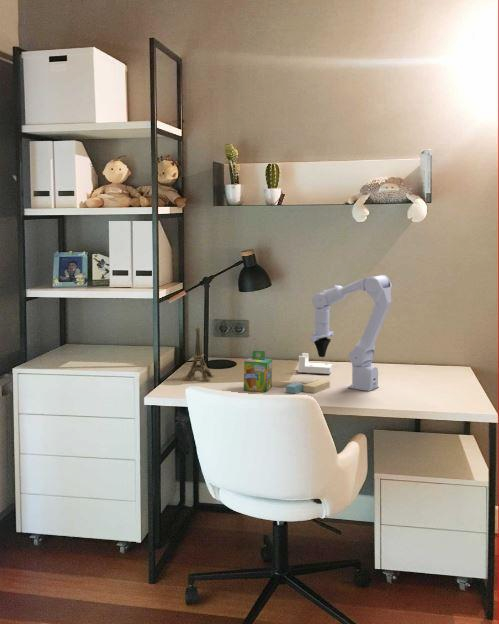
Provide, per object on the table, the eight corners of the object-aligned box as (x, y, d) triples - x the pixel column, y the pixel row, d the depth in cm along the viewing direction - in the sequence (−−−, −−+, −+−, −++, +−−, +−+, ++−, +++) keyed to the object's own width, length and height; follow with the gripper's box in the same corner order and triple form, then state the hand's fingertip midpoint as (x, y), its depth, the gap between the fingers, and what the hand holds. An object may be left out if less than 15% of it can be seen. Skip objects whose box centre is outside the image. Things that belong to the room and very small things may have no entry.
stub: (303, 390, 292) (303, 383, 292) (294, 393, 288) (294, 387, 287) (294, 388, 295) (294, 382, 294) (285, 392, 290) (285, 385, 290)
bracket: (298, 374, 321) (298, 356, 320) (302, 370, 328) (302, 353, 326) (329, 376, 317) (329, 358, 316) (332, 372, 324) (332, 354, 323)
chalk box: (243, 391, 292) (243, 353, 290) (249, 385, 301) (249, 348, 299) (267, 392, 290) (267, 354, 288) (272, 386, 299) (272, 349, 297)
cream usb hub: (329, 387, 297) (329, 381, 297) (314, 393, 288) (314, 386, 288) (318, 385, 300) (318, 379, 300) (303, 391, 291) (303, 384, 291)
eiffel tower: (189, 375, 319) (188, 315, 316) (214, 376, 318) (213, 316, 314) (183, 381, 309) (181, 319, 305) (208, 382, 307) (208, 320, 304)
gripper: (323, 319, 312) (322, 352, 314) (303, 324, 301) (303, 358, 303) (338, 321, 308) (337, 354, 310) (318, 326, 296) (318, 360, 298)
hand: (321, 356), depth 306 cm, fingers closed
